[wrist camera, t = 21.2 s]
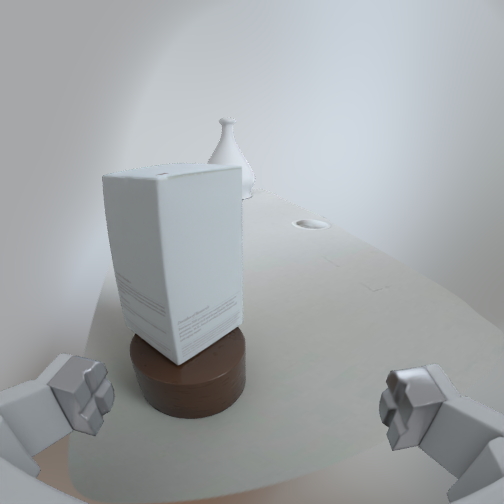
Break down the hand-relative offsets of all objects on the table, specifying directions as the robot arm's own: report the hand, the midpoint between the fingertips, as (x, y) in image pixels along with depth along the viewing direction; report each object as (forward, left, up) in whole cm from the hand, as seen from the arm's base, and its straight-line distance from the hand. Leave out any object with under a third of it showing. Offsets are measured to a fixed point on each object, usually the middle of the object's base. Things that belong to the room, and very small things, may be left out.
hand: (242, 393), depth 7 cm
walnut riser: (+12, -3, -12) cm, 18 cm away
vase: (+77, -43, -12) cm, 89 cm away
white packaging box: (+15, -3, -8) cm, 17 cm away
